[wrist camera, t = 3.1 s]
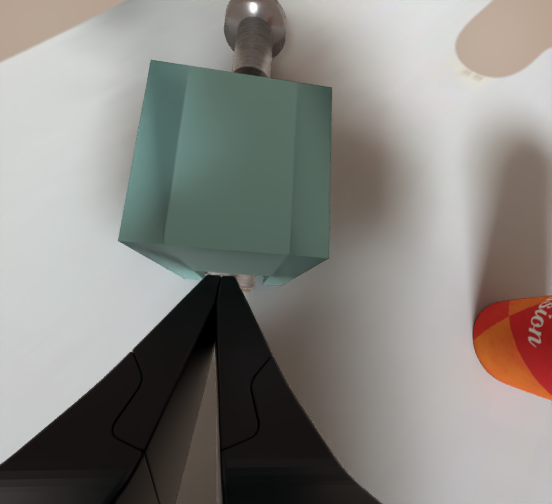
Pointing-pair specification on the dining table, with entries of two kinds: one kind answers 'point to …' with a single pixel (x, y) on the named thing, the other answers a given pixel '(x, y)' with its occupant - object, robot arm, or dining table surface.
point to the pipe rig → (253, 54)
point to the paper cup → (517, 343)
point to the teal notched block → (230, 174)
